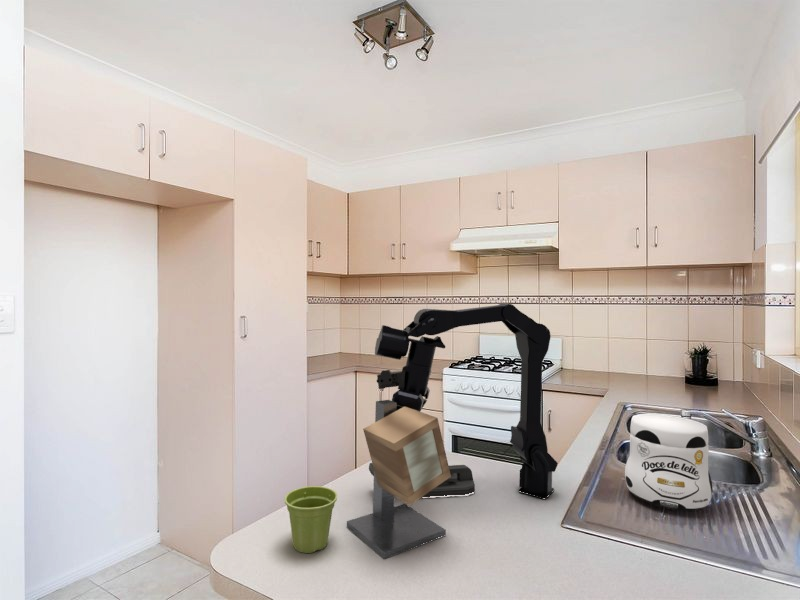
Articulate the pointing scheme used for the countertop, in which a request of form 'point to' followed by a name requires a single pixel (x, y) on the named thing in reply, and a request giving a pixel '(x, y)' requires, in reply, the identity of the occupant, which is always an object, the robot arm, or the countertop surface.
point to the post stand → (392, 516)
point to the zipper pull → (451, 482)
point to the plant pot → (310, 516)
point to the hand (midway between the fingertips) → (404, 432)
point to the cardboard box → (407, 454)
